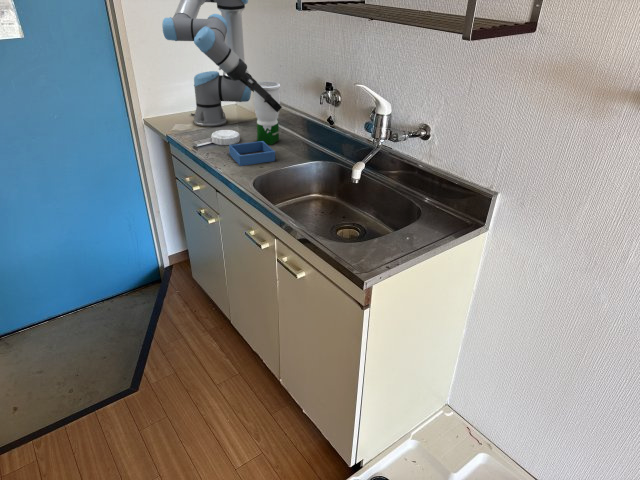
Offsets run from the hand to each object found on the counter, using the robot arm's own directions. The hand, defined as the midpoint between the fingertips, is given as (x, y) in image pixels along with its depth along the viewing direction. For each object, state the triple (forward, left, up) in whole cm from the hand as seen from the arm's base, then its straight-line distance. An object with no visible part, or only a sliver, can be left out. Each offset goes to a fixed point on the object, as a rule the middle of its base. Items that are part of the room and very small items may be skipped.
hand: (274, 105), depth 184 cm
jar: (0, -3, -7) cm, 7 cm away
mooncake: (-24, -14, -20) cm, 34 cm away
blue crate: (0, -10, -20) cm, 22 cm away
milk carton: (-17, +3, -20) cm, 26 cm away
